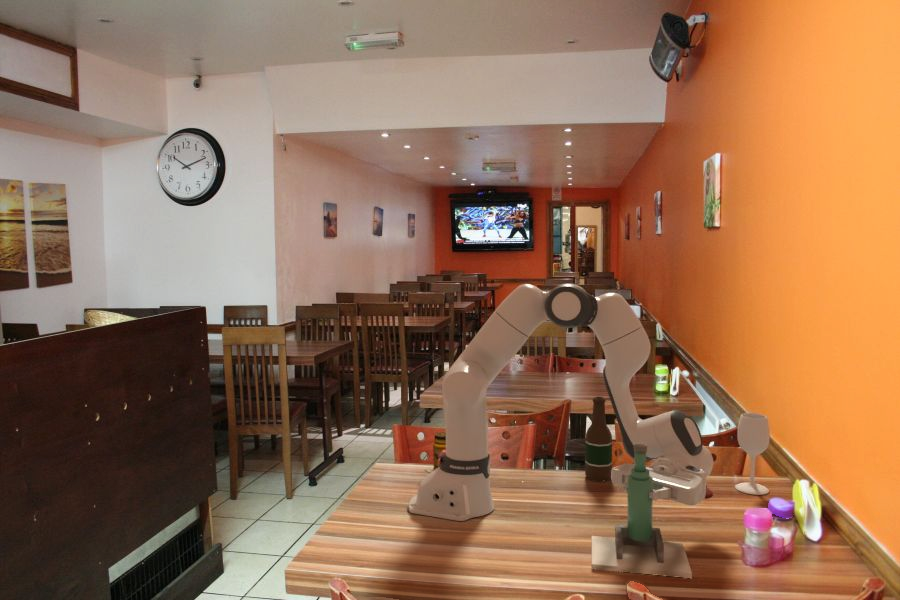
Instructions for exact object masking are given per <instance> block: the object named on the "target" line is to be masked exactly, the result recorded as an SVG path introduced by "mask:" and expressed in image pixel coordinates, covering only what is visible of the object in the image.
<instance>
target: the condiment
mask: <svg viewBox="0 0 900 600" xmlns="http://www.w3.org/2000/svg"><path fill="white" fill-rule="evenodd" d="M433 437H434V442H433V444H432V446H433V448H432V449H433V454H432V457H433V458H432V461H433V463H432V465H433V468H429V469H425V470H424V471H426V472H428V474H430V473H432V472H433V471H434V470H436V469H437V468H438V467H439V465H438V459H439V456H440V453H441V452H442V450H446V432H438V433H435V434H434V436H433Z"/></svg>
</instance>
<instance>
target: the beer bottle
mask: <svg viewBox="0 0 900 600" xmlns="http://www.w3.org/2000/svg"><path fill="white" fill-rule="evenodd" d="M592 402H593V406H592V420H591V424H590V426H589V427H588V429H587V430H586V433H585V438H584V441H585V442H584V449H585V451H584V452H585V453H584V463H585V464H584V472H585V473H584V474H585V475H584V476H585V477H586V478H587V479H588V480H589V479H590V480H589V481H593V480H596V481H595V482H598V481H599V482H604V481H603V480H608V481H609V480H610V479H611V470H612V468H613V435H612V432H611V430H610V428H609V427H608V425H607V420H606V405H605V404H606V402H607V400H606V398H604V396H603V397H602V396H595V397H592Z"/></svg>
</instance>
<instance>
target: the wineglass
mask: <svg viewBox="0 0 900 600" xmlns="http://www.w3.org/2000/svg"><path fill="white" fill-rule="evenodd" d="M770 433H771V432H770V425H769V420H768V417H767V416H766V415H764V414H761V413H755V412H754V413H752V412H748V413H746V412H745V413H741V415H740V417H739V420H738V424H737V434H736V435H737V436H736V437H737V441H738V442H737V443H738V445H739V447H740V448H741V450H742V451H744V452H745V453H746V454H747V455H748V456H749V458H750V459H749V460H750V473H749V480H748V482H740V483H738V484H735V485H734V488H735V489H736V491H739V492H741V493H744V494H746V495H755V496H756V495H757V496H762V495H763V496H764V495H767V494H769V493H770V490H769V489H768V488H767V487H766V486H764V485H761V484H759V483H756V479H755V464H756V457H757V456H759V455H761V454H762V453H764V452H765V451H766V450H768V447H769V444H770V436H771V434H770Z"/></svg>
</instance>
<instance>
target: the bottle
mask: <svg viewBox="0 0 900 600" xmlns="http://www.w3.org/2000/svg"><path fill="white" fill-rule="evenodd" d="M634 451H635V459H633V460H634V463H633V464H634V468H633V469H631V475H629V476H628V492H627V511H626V512H627V514H626V515H627V516H626V517H627V525H626V526H627V536H628V537H629V538H630V539H632V540H635V541H642V542H643V541H649V540H651V539H652V528H653V501H654V500H652V499H649V496H650V495H649V491H650V490H652V489H653V478H652V477H651V476H649V470H648V469H646V467H647V462H646V452H647V446H646V445H643V444H636V445H634Z"/></svg>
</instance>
